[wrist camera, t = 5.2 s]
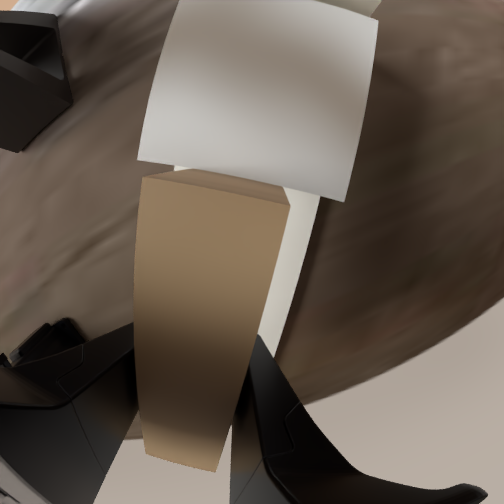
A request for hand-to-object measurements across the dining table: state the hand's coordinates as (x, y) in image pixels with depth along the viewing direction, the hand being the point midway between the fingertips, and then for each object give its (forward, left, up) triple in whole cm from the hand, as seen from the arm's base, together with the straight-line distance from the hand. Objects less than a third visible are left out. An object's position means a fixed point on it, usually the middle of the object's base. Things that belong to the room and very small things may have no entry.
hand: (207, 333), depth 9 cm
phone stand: (+18, +6, -7) cm, 20 cm away
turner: (+3, -2, -1) cm, 4 cm away
